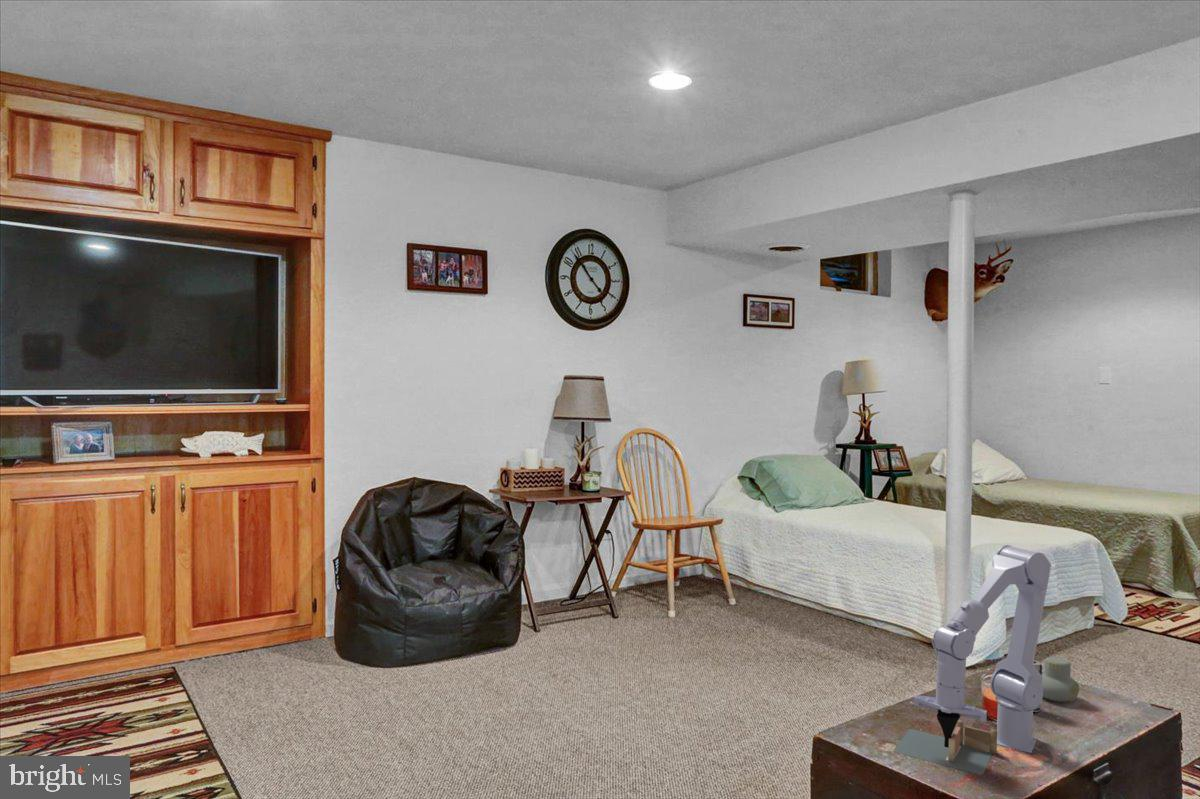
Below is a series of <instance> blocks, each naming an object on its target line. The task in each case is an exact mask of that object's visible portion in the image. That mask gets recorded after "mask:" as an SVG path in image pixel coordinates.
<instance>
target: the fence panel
mask: <svg viewBox="0 0 1200 799" xmlns="http://www.w3.org/2000/svg"><path fill="white" fill-rule="evenodd" d="M960 729H961V727H956V729H955V728H954V730H953V733H952V737H951V738H949V748H948V760H949V761H954V757H955V755H956V753H957V751H958V748H959V746H960Z"/></svg>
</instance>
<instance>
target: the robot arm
mask: <svg viewBox="0 0 1200 799" xmlns="http://www.w3.org/2000/svg"><path fill="white" fill-rule="evenodd" d="M991 561H992V562H991V564H992V569H991V571H990V572H989V574H988V575H987V577H986V578H985V580H984V582H983V584H982V585H981V587H980V588H979V590H978V592H977V593H976V595H975V596H974V597H973V598H972V599H965V600H964V602H962V604H960V607H959V608H958V610H956V612H955V613H954V614H953V615H952V617H951V619H950V620H949V621H948V623H947V624H946V625H943V626H941V627H939V628H937V629H936V631H934V634H933V637H932V638H931V643H932V647H933V649H934V651H935V658H936V684H935V685H936V686H935V697H934V696H928V695H927V696H925V695H919V694H915V695H914V697H913V706H914V707H922V708H926V709H931V710H934V711H935V710H936V711H937V714H936V720H937V721H938V723H939V726H940V728H941V730H942V733H943V737H945V741H944V747H947V748H949V738H951V737H952V735H953V733H954V731H955V726H956V724H957V722H958V720H960V719H961V716H962V717H964V718H965V717H966V718H969V719H973V720H978V721H979V722H981V723H986V721H987V719H988V718H987V717H988V711H987V710H985V709H982V708H979V707H975V706H973V705H970V704H967V703H965V696H966V694H965V693H966V692H965V691H966V672H967V668H966V667H967V658H968V657H969V656H970V655H971V654H972V653H973V650H974V645H975V642H976V639H977V637H976V636H977V634H978V633H979V632H980V630H981V629H982V628H983V626H984V625H985V623H986V622H987V621H988V620H989V618H990V614H989V613H990V612H989V608H990V607H991V606H992V605H993V604H994V603H995V602H996V601H997V600H998V598H999V597H1000V596H1001V595H1002V594H1003V593H1004V591H1005V590H1007V588H1009V586H1010V585H1015V586H1016V588H1017V590H1018V594H1017V599H1016V607H1015V610H1014V616H1013V621H1012V622H1013V623H1012V627H1011V634H1010V638H1009V645H1008V649H1007V656H1006V658H1004V659H1002V660H1000V661H997V663H996V665H995V670H994V672H993V673H992V675H991V678H990V682H989V687H990V690H991V692H992V694H993V695H994V696H995V697H994V698H995V699H994V700H995V701H997V715H996V716H997V720H996V731H997V746H1000V747H1004V748H1008V749H1013V750H1017V751H1020V752H1024V753H1029V754H1031V753H1033V750H1034V747H1035V745H1036V742H1037V739H1038V738H1037V736H1036V737H1035V736H1033V727H1034V713H1033V710H1034V709H1037V707H1038V706H1039V705H1040V703H1041V704H1042V701H1043V698H1044V697H1043V689H1042V680H1043V677H1042V676H1041V674H1040V673H1039V672H1038V670H1037V669H1036V668H1035V666H1034V660H1035V658H1036V651H1037V646H1038V642H1039V641H1038V640H1039V634H1040V630H1041V625H1042V617H1043V612H1044V606H1045V601H1046V595H1047V592H1048V591H1047V589H1048V584H1049V580H1050V574H1051V568H1052V564H1051V562H1050V560H1049V559H1048V557H1047V556H1046V555H1045V554H1044V553H1042V552H1039V551H1037V552H1036V551H1031V550H1028V549H1023V548H1019V547H1015V546H1014V547H1013V546H1011V545H1010V544H1009V545H1008V544H1005V545H1001V546H1000V547H999V548H998V549H997V551H996V553H995V555H994V556H993V557H992V560H991ZM1019 675H1020V676H1019Z"/></svg>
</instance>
